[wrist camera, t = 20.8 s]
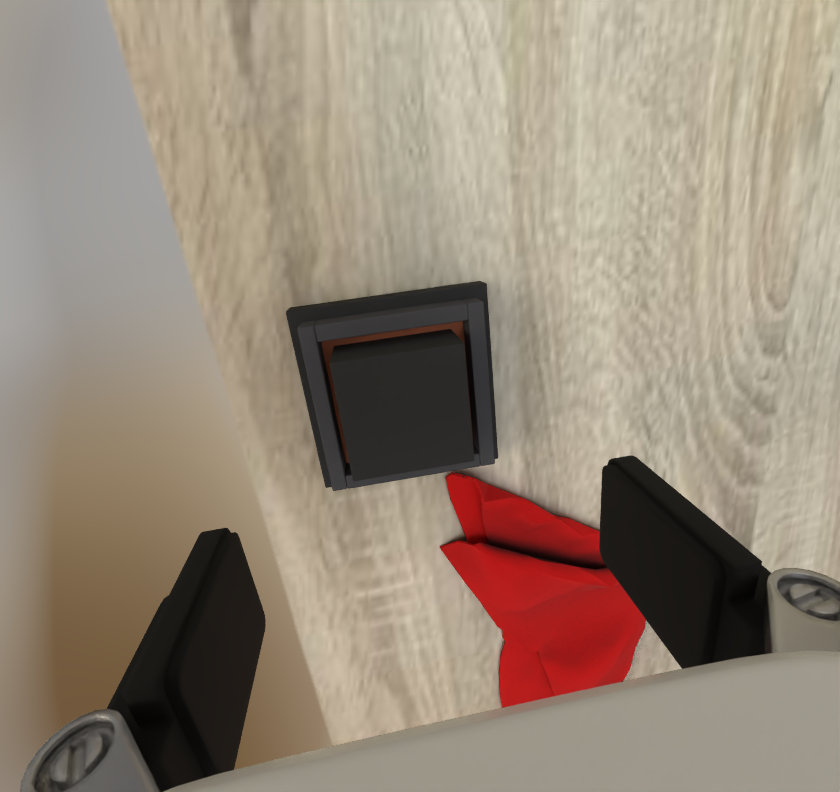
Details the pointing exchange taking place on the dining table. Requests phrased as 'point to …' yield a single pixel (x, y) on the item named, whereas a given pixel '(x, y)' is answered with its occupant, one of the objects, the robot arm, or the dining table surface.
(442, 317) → the base pad
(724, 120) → the dining table surface
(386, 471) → the black pad
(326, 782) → the robot arm
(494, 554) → the cloth
